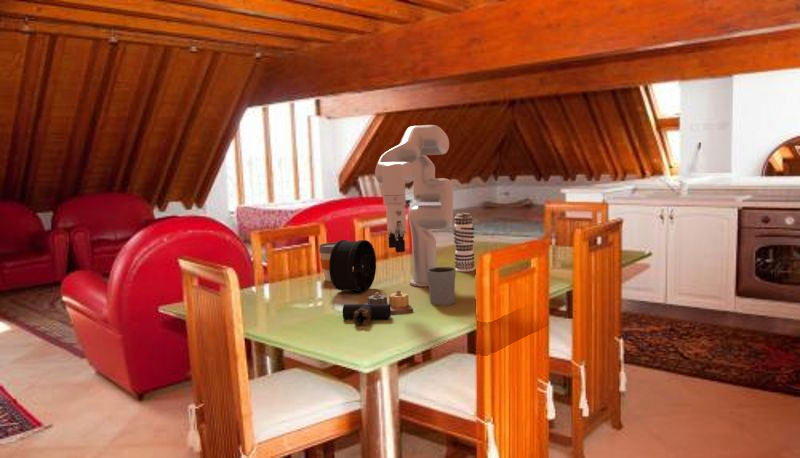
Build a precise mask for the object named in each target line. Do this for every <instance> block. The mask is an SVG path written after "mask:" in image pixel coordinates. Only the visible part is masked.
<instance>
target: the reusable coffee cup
mask: <svg viewBox="0 0 800 458" xmlns="http://www.w3.org/2000/svg"><path fill="white" fill-rule="evenodd" d="M337 242H338V241H337ZM337 242H328V243H321V244H319V248H318V249H319V250H318V252H319V256H320V258H319V260H320V266H321V269H322V270H323V276H324V280H325V281H326V282H332V281H331V278H330V272H329V262H330V256H331V252H332V249H333V247H334V246H335V244H336V243H337Z"/></svg>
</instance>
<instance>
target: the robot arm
mask: <svg viewBox="0 0 800 458" xmlns="http://www.w3.org/2000/svg"><path fill="white" fill-rule="evenodd" d="M449 140H450V139H449V137H448V135H447V134H446V132H445V131H444V130H443V129H442V128H441V127H440V126H438V125H435V124H425V125H413V126H409V127H408V128H407V129H406V130H405V131H404V134H403V135H402V137H401V140H400V142H399V144H398V145H395V146H394V147H392V148H390V149H389V150H387V151H385V152H384V153H383V154H382V155H381V156H380V157H379V159H378V161H377V163H376V166H375V169H374V170H375V171H374V175H375V179H376V181H377V182H379V183H380V184H382V195H383V196H382V198H383V200H382V201H383V206H386V209H385V210H386V213H385V214H386V228H387V231H388V237H387V239H388V248H389V249H395V252H396V253H405V252H406V244H405V243H406V239H405V234H406V233H407V232H408V228H407V227H408V225H407V217H406V216H407V215H406V208H405V205H406V203H407V202H406V201H407V200H406V184H410V183H412V182H413V192H412V193H413V194H412V195H413V199H414V200H415V201H416V202H418V203H440V204H437V205H435V204H434V205H431V204H427V205H425V204H424V205H423V204H419V205H415V206H413V207H411V208H410V209H409V211H408V221H409V227H410V232H411V248H412V273H413V274H412V275H413V278H412V279H410V281H409V284H410V286H413V287H429V282H428V275H427V270H428V269H430V268H435V267H437V265H438V264H437V242H436V237H435V236H434V234H433V233H432V231H431V230H448V229H450V228H451V227H452V225H453V220H454V219H453V218H454V217H453V216H454V186H453V182H452V181H451V180H450V179H448V178H445V177H443V178H442V177H441V178H439V177H438V178H436V166H435V164H434V163H433V162H432V160H431V159H430V158H429V157H428V156H436V155H437V156H438V155H444V154H446V153H448V152H449V147H450V141H449Z"/></svg>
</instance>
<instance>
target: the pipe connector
mask: <svg viewBox="0 0 800 458" xmlns="http://www.w3.org/2000/svg"><path fill="white" fill-rule="evenodd" d="M391 315H392V314H391V310H390V305H389V304H368V303H363V304H362V303H361V304H360V303H356V304H353V303H352V304H348V303H345V304H343V305H342V318H343V320H353V322H354V326H368V325H369V324H370V320H375V321H376V320H378V321H379V320H381V321H382V320H390V319H391Z"/></svg>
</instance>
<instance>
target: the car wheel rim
mask: <svg viewBox="0 0 800 458" xmlns="http://www.w3.org/2000/svg"><path fill="white" fill-rule="evenodd" d="M335 243H336V242H335ZM329 272H330V278H331V281H330V282H331V284H332V286H333V287H334V288H335V289H337V290H338V291H346V290H349V291H351V290H352V291H356V292H362V293H365V292H367V291H369V290H370V289H371V287H372V286H373V283H374V280H375V278H376V277H375V276H376V273H377V256H376V252H375V249H374V246H373V245H372V243H371V242H370V241H369V240H367V239H366V240H365V239H359V240H356V241H353V240H347V239H340V240H338V241H337V243H336V244H335V246H334V247H333V249H332V252H331V256H330V262H329Z"/></svg>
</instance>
